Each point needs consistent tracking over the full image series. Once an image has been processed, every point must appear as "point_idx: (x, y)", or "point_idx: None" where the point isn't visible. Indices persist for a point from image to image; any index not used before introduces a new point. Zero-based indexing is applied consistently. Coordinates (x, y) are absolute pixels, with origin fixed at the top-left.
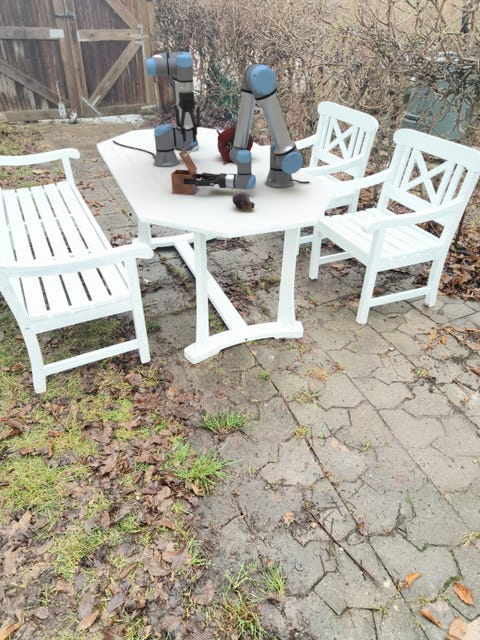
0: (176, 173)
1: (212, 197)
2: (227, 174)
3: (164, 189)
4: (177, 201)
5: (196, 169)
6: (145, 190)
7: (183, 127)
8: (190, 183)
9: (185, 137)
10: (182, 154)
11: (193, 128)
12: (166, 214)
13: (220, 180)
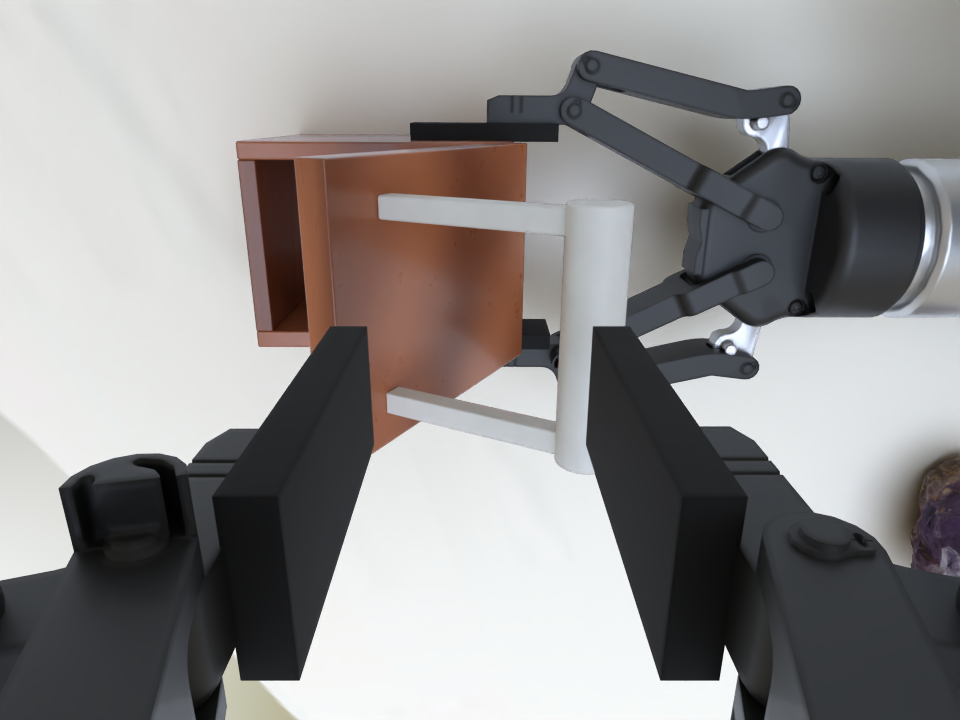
0: (269, 195)
1: (690, 326)
2: (943, 273)
3: (186, 196)
4: (425, 461)
5: (525, 174)
6: (28, 257)
7: (223, 546)
8: None
9: (355, 390)
10: (374, 414)
11: (700, 633)
12: (437, 679)
13: (829, 316)
